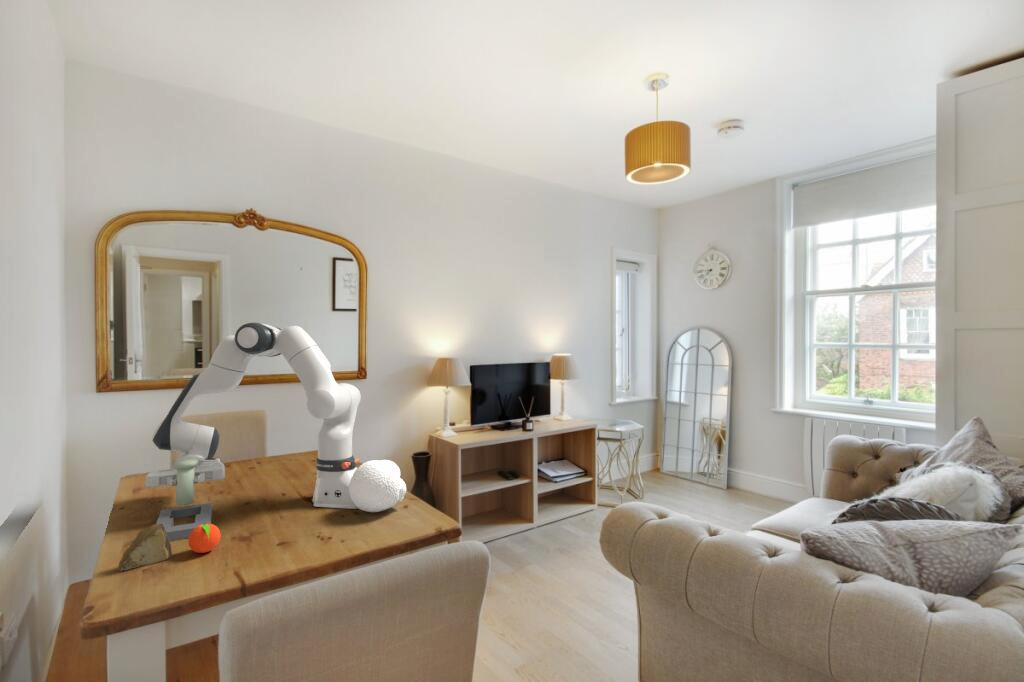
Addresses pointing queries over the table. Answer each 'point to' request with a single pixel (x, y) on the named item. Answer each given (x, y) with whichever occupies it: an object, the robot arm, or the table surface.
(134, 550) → the rock
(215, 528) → the clementine
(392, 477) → the white lumpy blob
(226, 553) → the table surface
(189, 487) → the sage post
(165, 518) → the keyhole board
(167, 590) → the table surface
